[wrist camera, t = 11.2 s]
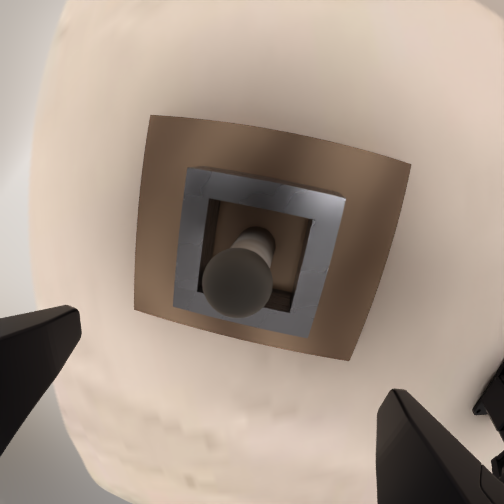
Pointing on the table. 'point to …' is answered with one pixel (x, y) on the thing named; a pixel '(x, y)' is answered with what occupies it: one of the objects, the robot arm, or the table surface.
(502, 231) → the table surface
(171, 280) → the square knob plate
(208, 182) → the metal link
